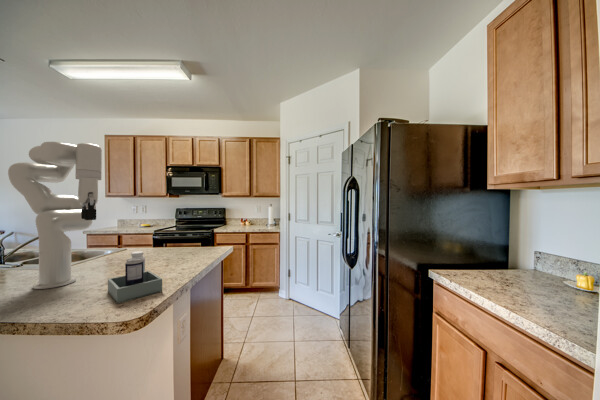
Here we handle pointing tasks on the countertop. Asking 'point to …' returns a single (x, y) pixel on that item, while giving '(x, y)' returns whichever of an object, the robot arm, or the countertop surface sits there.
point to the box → (134, 287)
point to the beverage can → (133, 271)
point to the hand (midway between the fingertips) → (88, 219)
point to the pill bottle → (139, 255)
